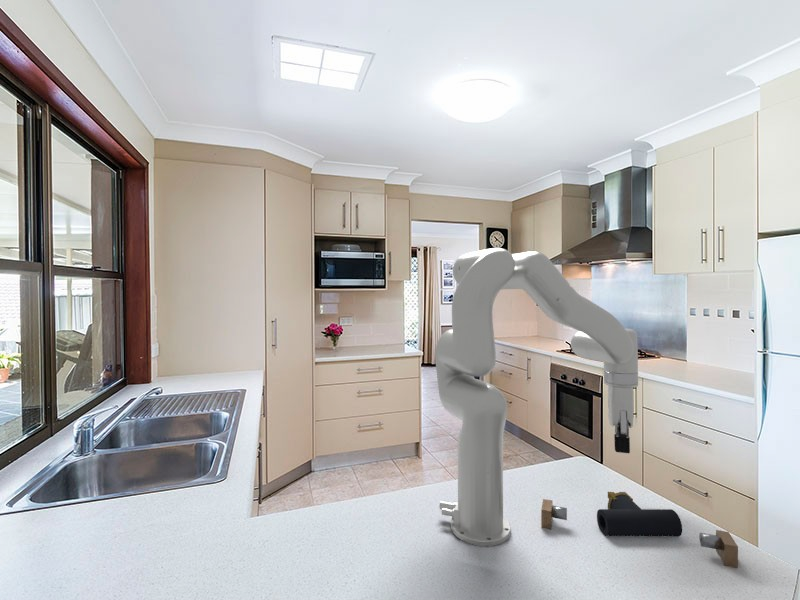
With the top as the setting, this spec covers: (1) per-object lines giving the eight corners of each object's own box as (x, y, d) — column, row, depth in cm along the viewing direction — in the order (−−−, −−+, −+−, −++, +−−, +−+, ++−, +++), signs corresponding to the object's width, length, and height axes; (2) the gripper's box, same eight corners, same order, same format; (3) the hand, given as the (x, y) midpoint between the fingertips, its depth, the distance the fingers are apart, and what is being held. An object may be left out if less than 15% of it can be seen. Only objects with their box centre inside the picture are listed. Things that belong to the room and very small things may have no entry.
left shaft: (541, 528, 88) (541, 509, 88) (543, 516, 93) (543, 498, 93) (566, 533, 86) (566, 514, 86) (566, 521, 91) (566, 503, 91)
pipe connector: (583, 489, 95) (649, 489, 95) (583, 511, 95) (648, 511, 95) (608, 516, 84) (682, 516, 84) (608, 542, 84) (682, 542, 84)
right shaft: (704, 561, 77) (704, 540, 77) (697, 546, 82) (697, 526, 81) (738, 568, 75) (738, 546, 75) (728, 552, 80) (728, 532, 80)
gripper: (602, 371, 110) (603, 439, 111) (605, 383, 97) (607, 461, 97) (634, 373, 107) (635, 442, 108) (642, 385, 94) (644, 465, 94)
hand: (622, 451), depth 102 cm, fingers closed
